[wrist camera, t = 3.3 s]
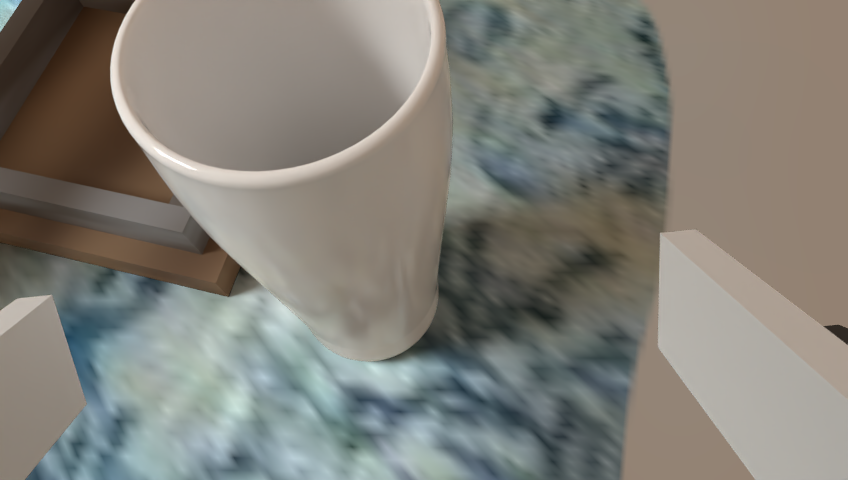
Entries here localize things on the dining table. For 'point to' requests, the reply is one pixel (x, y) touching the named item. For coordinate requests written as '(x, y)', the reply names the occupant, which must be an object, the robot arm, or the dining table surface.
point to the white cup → (304, 149)
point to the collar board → (87, 155)
